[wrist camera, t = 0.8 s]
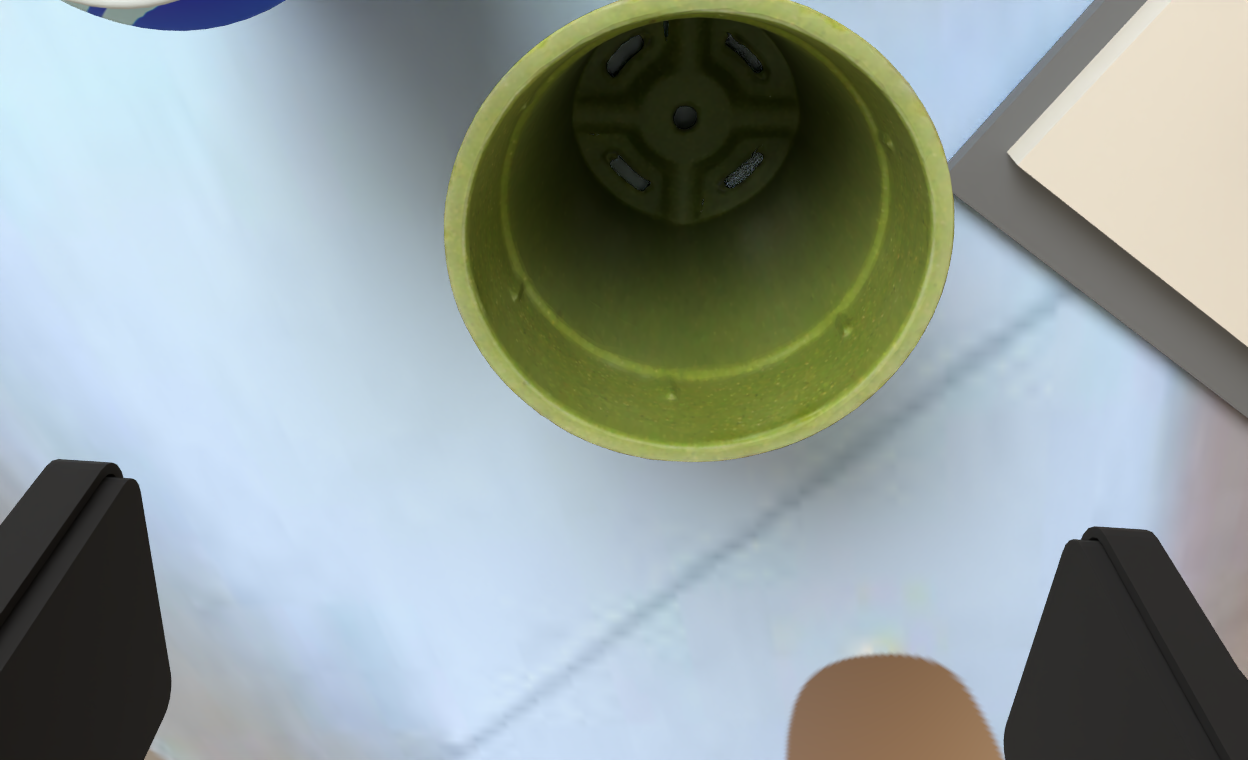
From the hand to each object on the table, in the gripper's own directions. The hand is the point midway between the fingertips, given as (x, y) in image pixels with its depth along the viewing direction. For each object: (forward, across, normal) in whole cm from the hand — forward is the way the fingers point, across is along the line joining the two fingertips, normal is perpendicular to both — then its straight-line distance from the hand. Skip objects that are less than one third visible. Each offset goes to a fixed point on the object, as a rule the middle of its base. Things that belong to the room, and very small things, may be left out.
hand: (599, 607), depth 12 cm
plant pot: (+27, -2, +3) cm, 28 cm away
